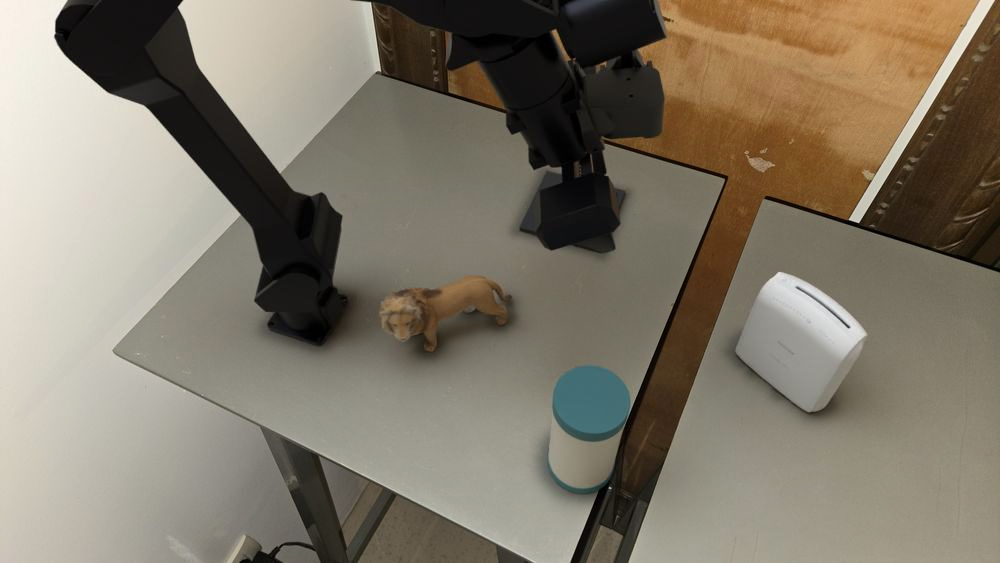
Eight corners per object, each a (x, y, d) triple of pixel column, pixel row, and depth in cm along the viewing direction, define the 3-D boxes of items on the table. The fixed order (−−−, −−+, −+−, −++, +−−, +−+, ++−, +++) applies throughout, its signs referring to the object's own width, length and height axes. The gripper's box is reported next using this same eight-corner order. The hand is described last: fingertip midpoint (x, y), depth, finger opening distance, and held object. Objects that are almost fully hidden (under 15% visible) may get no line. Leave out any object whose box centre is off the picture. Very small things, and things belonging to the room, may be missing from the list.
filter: (537, 480, 69) (542, 418, 59) (558, 422, 72) (566, 356, 63) (603, 503, 67) (619, 444, 58) (621, 443, 71) (639, 378, 62)
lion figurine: (401, 380, 75) (390, 329, 68) (377, 342, 78) (365, 290, 71) (524, 315, 80) (526, 261, 73) (497, 281, 83) (496, 227, 76)
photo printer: (726, 351, 77) (757, 277, 67) (753, 329, 79) (787, 253, 69) (809, 422, 72) (856, 352, 62) (836, 396, 74) (886, 325, 64)
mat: (519, 230, 88) (519, 227, 87) (546, 173, 93) (546, 170, 93) (602, 253, 85) (602, 250, 85) (625, 194, 91) (625, 190, 91)
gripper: (653, 128, 48) (712, 267, 59) (624, -29, 59) (679, 111, 70) (496, 183, 52) (579, 303, 63) (498, 25, 63) (568, 150, 74)
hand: (605, 210), depth 68 cm, fingers open, 9 cm apart
